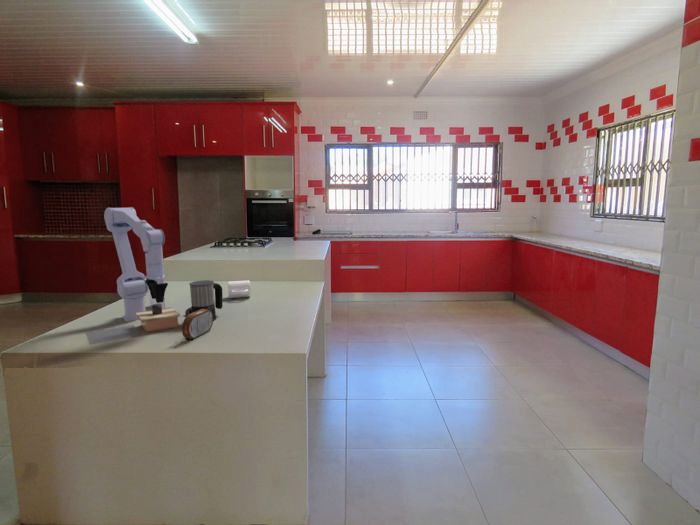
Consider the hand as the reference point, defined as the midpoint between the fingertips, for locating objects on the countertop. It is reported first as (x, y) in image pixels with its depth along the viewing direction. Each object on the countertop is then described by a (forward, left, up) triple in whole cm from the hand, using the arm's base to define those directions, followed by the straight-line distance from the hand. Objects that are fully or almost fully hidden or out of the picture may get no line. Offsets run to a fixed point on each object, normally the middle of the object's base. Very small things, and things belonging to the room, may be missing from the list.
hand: (157, 300), depth 151 cm
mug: (-26, +41, -10) cm, 50 cm away
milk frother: (-4, +16, -10) cm, 19 cm away
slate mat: (0, -15, -10) cm, 18 cm away
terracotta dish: (0, 0, -10) cm, 10 cm away
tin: (+18, +9, -10) cm, 23 cm away
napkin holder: (-32, +6, -11) cm, 34 cm away
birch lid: (0, 0, -6) cm, 6 cm away
